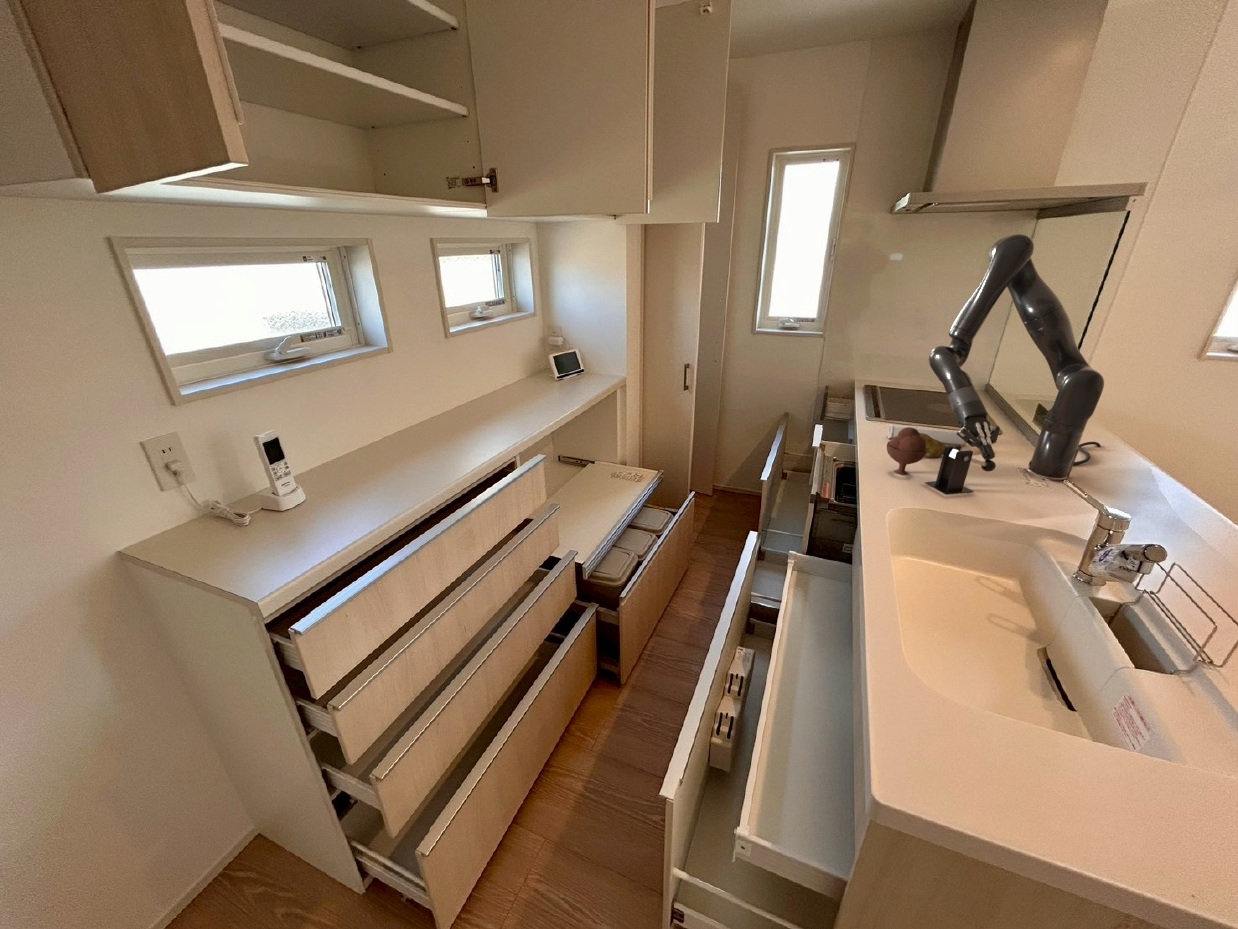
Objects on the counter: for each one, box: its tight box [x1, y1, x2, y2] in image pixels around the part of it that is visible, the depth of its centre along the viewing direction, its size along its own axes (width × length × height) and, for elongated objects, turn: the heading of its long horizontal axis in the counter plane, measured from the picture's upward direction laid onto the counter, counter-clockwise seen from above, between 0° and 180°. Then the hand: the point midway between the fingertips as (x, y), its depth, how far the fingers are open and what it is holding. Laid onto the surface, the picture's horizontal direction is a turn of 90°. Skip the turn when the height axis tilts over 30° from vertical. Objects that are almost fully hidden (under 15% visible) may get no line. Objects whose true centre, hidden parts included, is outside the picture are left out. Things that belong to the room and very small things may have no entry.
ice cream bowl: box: [886, 426, 928, 476], centre depth 150 cm, size 11×11×15 cm
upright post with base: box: [924, 445, 974, 496], centre depth 140 cm, size 9×8×13 cm
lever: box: [949, 448, 997, 473], centre depth 140 cm, size 15×3×3 cm, turn 100°
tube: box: [887, 424, 968, 447], centre depth 179 cm, size 5×5×25 cm
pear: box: [919, 432, 947, 459], centre depth 166 cm, size 8×13×8 cm, turn 72°
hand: (990, 458), depth 141 cm, fingers closed
